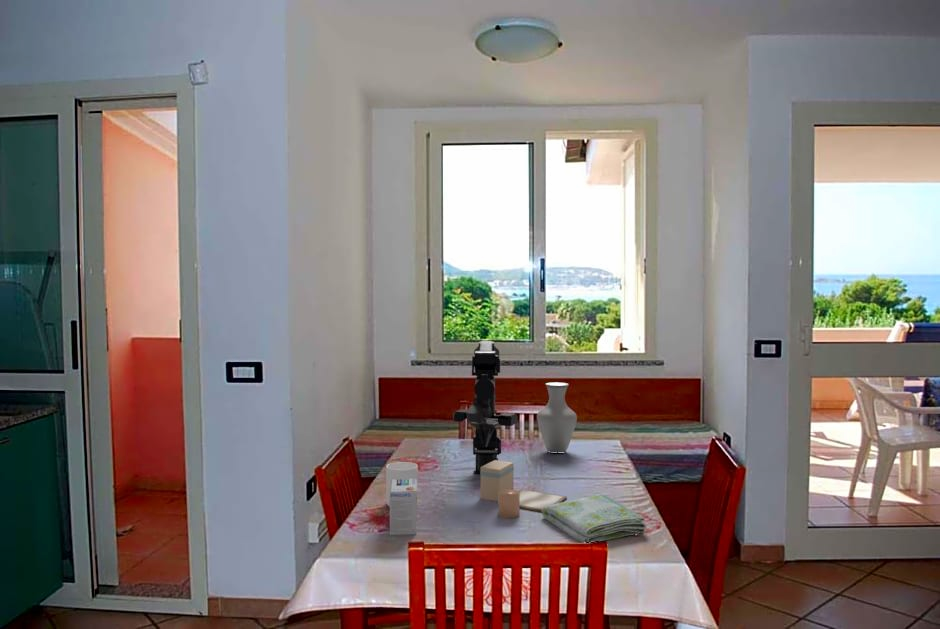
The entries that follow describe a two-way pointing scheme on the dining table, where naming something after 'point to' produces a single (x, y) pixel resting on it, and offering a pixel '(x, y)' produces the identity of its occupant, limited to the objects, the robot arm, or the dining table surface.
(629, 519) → the towel
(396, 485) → the light bulb box
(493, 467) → the carton
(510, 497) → the wooden cylinder
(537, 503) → the picture frame
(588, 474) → the dining table surface
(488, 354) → the robot arm
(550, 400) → the vase
